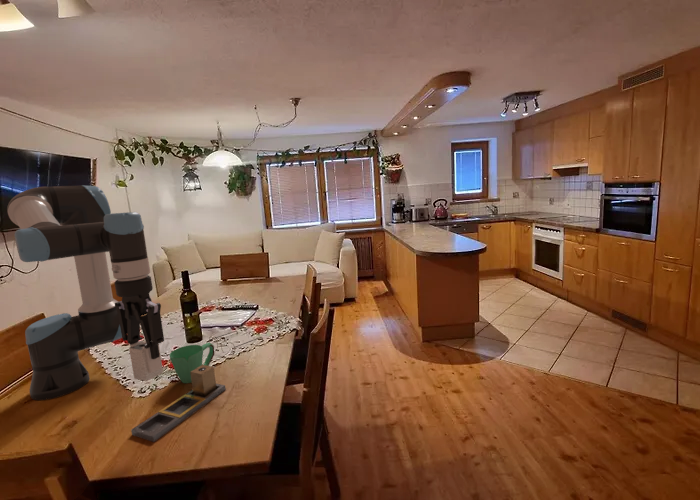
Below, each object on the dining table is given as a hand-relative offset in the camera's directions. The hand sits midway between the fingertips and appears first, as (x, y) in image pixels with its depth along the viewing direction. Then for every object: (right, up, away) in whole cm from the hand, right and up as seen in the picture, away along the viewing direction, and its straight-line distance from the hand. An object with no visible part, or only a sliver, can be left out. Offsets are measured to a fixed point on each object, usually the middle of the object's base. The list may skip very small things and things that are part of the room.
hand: (147, 368), depth 88 cm
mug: (0, -13, +29) cm, 32 cm away
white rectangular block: (0, -2, 0) cm, 2 cm away
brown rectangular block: (+8, -13, +17) cm, 23 cm away
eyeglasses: (+4, -9, +54) cm, 55 cm away
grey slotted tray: (+4, -15, +10) cm, 18 cm away
